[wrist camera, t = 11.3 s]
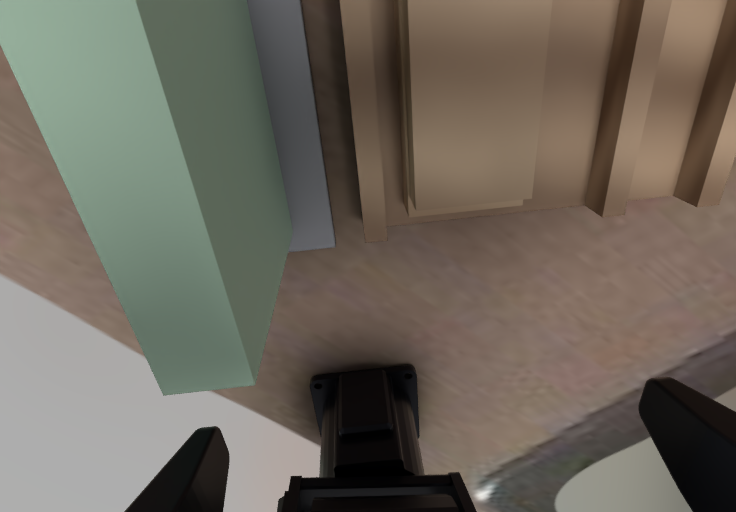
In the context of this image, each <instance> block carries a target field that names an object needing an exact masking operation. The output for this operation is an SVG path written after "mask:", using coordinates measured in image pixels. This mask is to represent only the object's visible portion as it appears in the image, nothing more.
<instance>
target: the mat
mask: <svg viewBox="0 0 736 512" xmlns="http://www.w3.org/2000/svg"><path fill="white" fill-rule="evenodd" d="M247 4H248V9H249V14H250V19H251V24H252V29H253V34H254V39H255V44H256V49H257V54H258V59H259V64H260V69H261V74H262V79H263V84H264V89H265V94H266V99H267V104H268V109H269V114H270V119H271V124H272V129H273V134H274V139H275V144H276V148H277V153H278V158H279V163H280V168H281V173H282V178H283V183H284V188H285V193H286V198H287V203H288V208H289V213H290V218H291V223H292V228H293V234H292V238H291V242H290V246H289V250H288V252H294V251H304V250H313V249H322V248H332V247H336V241H335V234H334V227H333V220H332V213H331V206H330V199H329V192H328V185H327V178H326V171H325V165H324V158H323V151H322V144H321V137H320V130H319V123H318V116H317V109H316V102H315V95H314V88H313V81H312V74H311V67H310V61H309V54H308V47H307V40H306V33H305V26H304V19H303V12H302V5H301V0H247Z"/></svg>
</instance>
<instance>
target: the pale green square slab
mask: <svg viewBox="0 0 736 512" xmlns="http://www.w3.org/2000/svg"><path fill="white" fill-rule="evenodd" d="M0 45H1V47H2V49H3V51H4V53H5V56H6V58H7V60H8V62H9V64H10V66H11V69H12V71H13V73H14V75H15V77H16V79H17V81H18V84H19V86H20V88H21V90H22V92H23V94H24V96H25V99H26V101H27V103H28V105H29V107H30V109H31V112H32V114H33V116H34V118H35V120H36V122H37V124H38V127H39V129H40V131H41V133H42V135H43V137H44V139H45V142H46V144H47V146H48V148H49V150H50V152H51V155H52V157H53V159H54V161H55V163H56V165H57V167H58V170H59V172H60V174H61V176H62V178H63V180H64V183H65V185H66V187H67V189H68V191H69V193H70V195H71V198H72V200H73V202H74V204H75V206H76V208H77V210H78V213H79V215H80V217H81V219H82V221H83V223H84V226H85V228H86V230H87V232H88V234H89V236H90V238H91V241H92V243H93V245H94V247H95V249H96V251H97V254H98V256H99V258H100V260H101V262H102V264H103V266H104V269H105V271H106V273H107V275H108V277H109V279H110V281H111V284H112V286H113V288H114V290H115V292H116V294H117V297H118V299H119V301H120V303H121V305H122V307H123V309H124V312H125V314H126V316H127V318H128V320H129V322H130V325H131V327H132V329H133V331H134V333H135V335H136V337H137V340H138V342H139V344H140V346H141V348H142V350H143V352H144V355H145V357H146V359H147V361H148V363H149V365H150V367H151V370H152V372H153V374H154V376H155V378H156V380H157V383H158V384H159V387H160V389H161V391H162V393H163V395H172V394H182V393H190V392H199V391H208V390H217V389H226V388H235V387H243V386H252V385H255V384H256V380H257V376H258V372H259V368H260V363H261V359H262V355H263V351H264V347H265V343H266V339H267V335H268V331H269V327H270V323H271V319H272V315H273V311H274V307H275V303H276V299H277V295H278V291H279V287H280V282H281V278H282V274H283V270H284V266H285V262H286V258H287V254H288V250H289V246H290V242H291V238H292V234H293V228H292V223H291V218H290V213H289V208H288V203H287V198H286V193H285V188H284V183H283V178H282V173H281V168H280V163H279V158H278V153H277V148H276V144H275V139H274V134H273V129H272V124H271V119H270V114H269V109H268V104H267V99H266V94H265V89H264V84H263V79H262V74H261V69H260V64H259V59H258V54H257V49H256V44H255V39H254V34H253V29H252V24H251V19H250V14H249V9H248V4H247V0H0Z"/></svg>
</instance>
